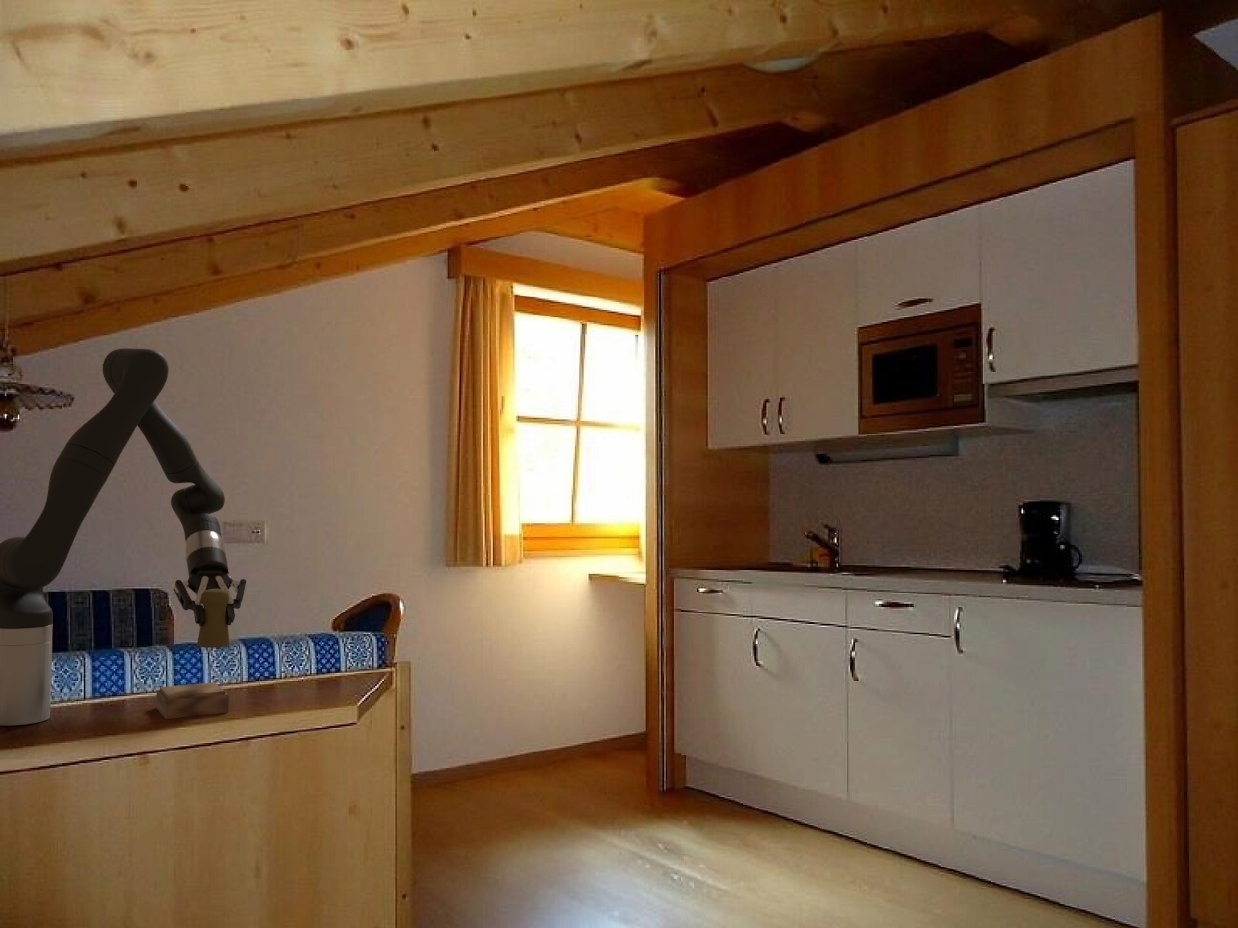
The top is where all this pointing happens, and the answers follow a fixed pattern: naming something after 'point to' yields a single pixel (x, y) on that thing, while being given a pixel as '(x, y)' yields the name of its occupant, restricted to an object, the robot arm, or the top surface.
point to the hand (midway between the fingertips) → (216, 622)
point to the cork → (214, 619)
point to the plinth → (191, 700)
